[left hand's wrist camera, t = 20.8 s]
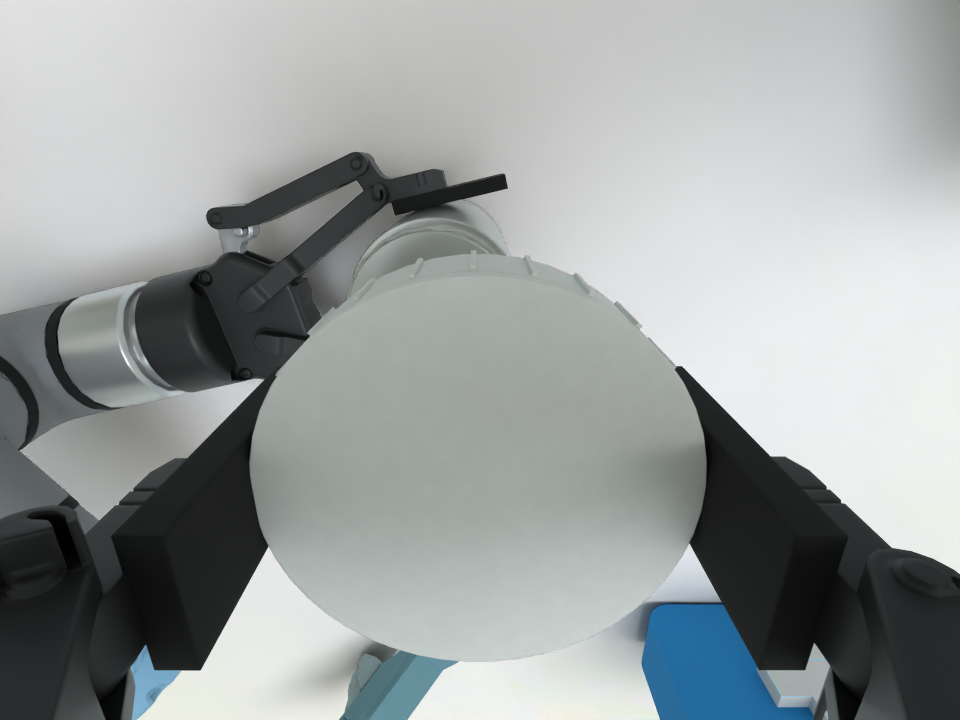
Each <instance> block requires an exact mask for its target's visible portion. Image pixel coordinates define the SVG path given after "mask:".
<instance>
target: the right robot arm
mask: <svg viewBox="0 0 960 720" xmlns="http://www.w3.org/2000/svg"><path fill="white" fill-rule="evenodd" d="M356 180H357V181H358V183H359V184H360V185H361V187H362V188H363V190H364V191H363V192H362V193H361V194H360V195H358V196H357V197H356V198H355V199H354V200H353V201H351V202H350V203H349V204H348V205H347V206H346V207H344V208H343V209H342V210H341V211H340V212H339V213H337V214H336V215H335V216H334V217H333V218H332V219H330V220H329V221H328V222H327V223H326V224H325V225H323V226H322V227H321V228H320V229H319V230H318V231H316V232H315V233H314V234H313V235H312V236H311V237H309V238H308V239H307V240H306V241H305V242H304V243H302V244H301V245H300V246H299V247H298V248H297V249H295V250H294V251H293V252H292V253H291V254H289V255H288V256H287V257H285V258H284V259H283V260H281V261H280V262H279V263H278V262H275V261H273V260H270V259H268V258H265V257H263V256H260V255H258V254H255V253H253V252H250V251H247V250H246V245H247V243H248V241H249V240H250V239H253V238H256V237H257V236H258V234H259V232H260V228H259V224H261V223H265V222H268V221H272V220H274V219H277V218H279V217H281V216H283V215H285V214H287V213H289V212H291V211H293V210H296V209H298V208H300V207H302V206H304V205H306V204H308V203H310V202H312V201H314V200H316V199H318V198H320V197H323V196H325V195H327V194H329V193H331V192H333V191H335V190H337V189H339V188H341V187H343V186H345V185H347V184H350V183H352V182H354V181H356ZM503 189H508V187H507V182H506V177H505V174H503V173H502V174H498V175H494V176H490V177H486V178H482V179H478V180H474V181H469V182H465V183H461V184H457V185H453V186H449V187H447V183H446V179H445V175H444V171H443V170H438V169H431V170H427V171H423V172H419V173H415V174H411V175H407V176H403V177H399V178H394V179H392V178H388V177H386V176H385V175H383V173H382V172H381V171H380V169H379V168H378V166H377V165H376V163H375V161H374V158H373V157H372V156H371V155H370V154H368V153H361V152H353V153H350V154H348V155H346V156H344V157H342V158H340V159H338V160H336V161H334V162H332V163H330V164H328V165H326V166H324V167H322V168H320V169H318V170H316V171H313V172H311V173H309V174H307V175H305V176H303V177H301V178H299V179H297V180H295V181H293V182H291V183H289V184H287V185H285V186H283V187H281V188H279V189H277V190H275V191H273V192H271V193H269V194H267V195H265V196H263V197H261V198H259V199H256V200H254V201H252V202H250V203H248V204H233V205H227V206H222V207H216V208H212V209H210V210H209V211H208V212H207V215H206V218H207V222H208V224H209V225H210V226H211V227H213V228H215V229H218V231H219V235H220V239H221V243H222V247H223V251H224V254H223V255H222V256H220V257H219V259H218V260H217V261H216V262H215V263H213V264H212V265H208V266H204V267H199V268H195V269H191V270H187V271H183V272H179V273H175V274H170V275H166V276H162V277H158V278H155V279H153V280H151V281H149V282H145V281H141V282H137V283H133V284H129V285H125V286H120V287H116V288H112V289H108V290H104V291H99V292H95V293H91V294H87V295H83V296H80V297H77V298H73V299H70V300H68V301H64V302H59V303H54V304H50V305H45V306H40V307H36V308H31V309H26V310H22V311H17V312H12V313H8V314H4V315H0V519H2V518H4V517H6V516H8V515H11V514H14V513H18V512H21V511H24V510H27V509H31V508H36V507H43V506H50V505H57V506H68V507H69V508H71V509H73V510H74V511H76V512H77V515H78V518H79V521H80V523H81V526H82V529H83V532H84V535H85V534H86V533H87V532H88V531H89V530H90V529H91V528H92V527H93V526H94V525H96V524H97V523H98V522H99V520H97V519H96V518H95V517H94V516H93V515H91V514H90V513H89V512H88V511H86V510H85V509H84V508H83V507H81V506H80V505H79V503H78V502H77V501H76V500H75V499H74V498H73V497H72V496H70V495H69V493H68V492H66V491H65V490H64V489H63V488H62V487H61V486H59V485H58V484H57V483H56V482H55V481H54V480H52V479H51V478H50V477H49V476H48V475H47V474H46V473H44V472H43V471H42V470H41V469H40V468H39V467H37V466H36V465H35V464H34V463H33V462H32V461H30V460H29V459H28V458H27V457H26V456H25V455H24V454H22V453H21V452H20V450H21V449H23V448H24V447H25V446H26V445H28V444H29V443H30V442H32V441H33V440H35V439H36V438H38V437H39V436H41V435H42V434H44V433H46V432H47V431H49V430H50V429H52V428H54V427H55V426H57V425H59V424H61V423H64V422H66V421H69V420H72V419H75V418H79V417H83V416H88V415H92V414H96V413H101V412H105V411H109V410H114V409H119V408H123V407H127V406H132V405H137V404H142V403H146V402H151V401H156V400H161V399H165V398H170V397H175V396H179V395H182V394H184V393H186V392H197V391H201V390H206V389H210V388H215V387H220V386H224V385H229V384H233V383H238V382H242V381H246V380H250V379H264V380H265V379H266V378H267V377H268V376H269V375H270V374H271V373H272V372H273V371H274V370H275V369H276V368H277V367H278V366H283V365H284V364H285V363H286V362H287V361H288V360H289V359H290V358H291V357H292V355H293V354H294V353H295V352H296V351H297V350H298V349H299V348H300V347H301V346H302V345H303V343H304V342H305V341H306V340H307V339H308V338H309V337H310V335H309V334H308V333H307V332H308V331H309V330H310V329H311V328H312V327H313V326H314V325H315V324H316V323H317V322H318V321H319V320H320V319H321V316H320V313H319V311H318V310H317V308H316V307H315V305H314V304H313V302H312V294H311V288H310V285H309V282H308V279H307V278H305V279H304V278H303V277H302V275H303V274H304V273H306V272H307V271H308V270H309V269H310V268H312V267H313V266H314V265H315V264H316V263H317V262H318V261H319V260H321V259H322V258H323V257H324V256H325V255H327V254H328V253H329V252H330V251H331V250H333V249H334V248H335V247H336V246H337V245H338V244H340V243H341V242H342V241H343V240H344V239H346V238H347V237H348V236H349V235H350V234H352V233H353V232H354V231H355V230H356V229H358V228H359V227H360V226H361V225H362V224H363V223H365V222H366V221H367V220H368V219H369V218H371V217H372V216H373V215H374V214H375V213H377V212H378V211H379V210H380V209H381V208H383V207H384V206H385V205H386V204H387V203H391V202H392V206H393V210H394V213H395V215H399V214H403V213H408V212H412V211H416V210H420V209H424V208H428V207H433V206H437V205H441V204H445V203H449V202H453V201H458V200H462V199H466V198H470V197H474V196H478V195H483V194H487V193H491V192H495V191H499V190H503ZM131 670H132V673H133V676H134V681H135V687H136V689H135V697H134V706H133V714H132V720H136V719H138V718H139V717H140V716H141V715H142V714H143V713H145V711H146V710H147V709H148V708H149V707H150V706H151V705H152V704H153V703H154V702H155V701H156V699H157V697H158V696H159V694H160V693H161V692H162V691H163V690H164V689H165V688H166V687H167V686H168V685H169V684H171V683H172V682H173V681H174V679H175V678H176V677H177V675H178V674H179V673H180V671H181V670H154V668H153V665H152V662H151V659H150V656H149V652H148V649H147V646H146V645H145V647H144V648H143V650H142V651H141V653H140V654H139V656H138V657H137V658H136V660H135V661H134V663H133V664H132V666H131Z"/></svg>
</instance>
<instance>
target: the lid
mask: <svg viewBox="0 0 960 720" xmlns="http://www.w3.org/2000/svg"><path fill="white" fill-rule="evenodd" d="M641 327H642V325H641V324H640V323H639V322H638V321H637V320H636V319H635V318H634V317H633V316H632V315H631V314H630V313H629V312H628V311H627V310H626V309H625V308H624V307H623V306H622V305H621V304H620V303H619V302H618V301H617V302H616V303H615V304H614V303H613V302H612V301H610V300H609V299H608V298H606V297H605V296H604V295H603V294H601V293H600V292H599V291H598V290H596V289H595V288H593V287H591V286H590V285H588V284H587V283H586V282H585V281H584V280H583V279H582V278H581V277H580V275H578V274H576V273H575V274H574V275H570V274H568V273H565V272H563V271H561V270H558V269H556V268H553V267H551V266H549V265H546V264H542V263H538V262H534V261H532V260H531V258H530V256H526V255H525V257H524V259H523V258H519V257H511V256H503V255H495V254H476V250H471V254H461V255H453V256H446V257H439V258H433V259H429V260H426V261H424V260H423V258H419V259H417V261H416V263H415V264H411V265H408V266H405V267H403V268H401V269H398V270H396V271H394V272H391V273H389V274H387V275H384V276H382V277H380V278H379V279H377V280H375V278H374V277H373V278H371V279H369V281H368V282H367V283H366V284H365V285H364V286H363V287H362V288H361V289H360V290H359V291H357V292H356V293H355V294H354V295H353V296H351V297H350V298H349V299H348V300H346V301H345V302H344V303H343V304H342V305H340V306H339V307H338V308H337V309H335V308H334V307H332V308H331V309H330V310H329V311H328V312H327V313H326V314H325V315H324V316H323V317H322V318H321V319H320V320H319V321H318V322H317V323H316V324H315V325H314V326H313V327H312V328H311V329H310V330H309V331H308V332H307V333H308V334H309V335H310V337H309V338H308V339H307V340H306V341H305V342H304V343H303V345H302V346H301V347H300V348H299V349H298V350H297V351H296V352H295V353H294V354H293V355H292V357H291V358H290V359H289V360H288V361H287V362H286V363H285V364H284V365H283V366H282V367H281V368H280V369H279V370H278V372H277V373H276V375H275V376H277V377H276V379H275V380H274V382H273V383H272V385H271V387H270V389H269V391H268V393H267V395H266V398H265V400H264V402H263V404H262V406H261V408H260V411H259V414H258V418H257V421H256V425H255V428H254V432H253V436H252V443H251V452H250V461H249V467H250V478H251V484H252V489H253V494H254V500H255V505H256V510H257V515H258V520H259V524H260V528H261V530H262V533H263V536H264V538H265V540H266V542H267V544H268V546H269V547H270V549H271V551H272V553H273V555H274V557H275V559H276V560H277V561H278V563H279V564H280V566H281V567H282V568H283V570H284V571H285V573H286V574H287V575H288V577H289V578H290V579H291V580H292V582H293V583H294V584H295V585H296V586H297V587H298V588H299V589H300V590H301V591H302V592H303V593H304V594H305V596H306V597H308V598H309V599H310V600H311V601H312V602H313V603H315V604H316V605H317V606H318V607H319V608H320V609H322V610H323V611H324V612H325V613H327V614H328V615H330V616H331V617H333V618H334V619H336V620H337V621H339V622H340V623H341V624H343V625H344V626H346V627H348V628H350V629H352V630H353V631H355V632H357V633H359V634H361V635H363V636H365V637H367V638H369V639H371V640H374V641H376V642H379V643H381V644H384V645H386V646H389V647H391V648H394V649H398V650H401V651H405V652H408V653H412V654H415V655H420V656H425V657H431V658H436V659H442V660H453V661H464V662H493V661H503V660H513V659H521V658H526V657H531V656H536V655H541V654H545V653H548V652H552V651H555V650H558V649H562V648H565V647H568V646H570V645H573V644H575V643H578V642H580V641H582V640H585V639H587V638H590V637H592V636H593V635H595V634H597V633H599V632H601V631H603V630H605V629H606V628H608V627H610V626H612V625H614V624H615V623H616V622H618V621H619V620H621V619H622V618H624V617H625V616H627V615H628V614H630V613H631V612H632V611H634V610H635V609H636V608H637V607H638V606H639V605H641V604H642V603H643V602H644V601H645V600H646V599H647V598H649V597H650V596H651V595H652V594H653V593H654V592H655V591H656V589H657V588H658V587H659V586H660V585H661V584H662V583H663V582H664V581H665V580H666V578H667V577H668V576H669V575H670V573H671V572H672V570H673V569H674V567H675V566H676V565H677V563H678V562H679V560H680V559H681V557H682V556H683V554H684V552H685V550H686V548H687V546H688V544H689V542H690V540H691V538H692V536H693V534H694V532H695V529H696V526H697V523H698V520H699V517H700V514H701V511H702V506H703V501H704V495H705V490H706V474H707V457H706V449H705V441H704V434H703V430H702V427H701V424H700V420H699V417H698V414H697V410H696V407H695V405H694V403H693V401H692V399H691V397H690V395H689V393H688V391H687V389H686V387H685V384H684V383H683V381H682V380H681V378H680V377H679V375H678V374H677V372H676V371H675V369H676V366H675V364H674V363H673V362H672V361H671V360H670V359H669V358H668V357H667V356H666V355H665V354H664V353H663V352H662V351H661V350H660V349H659V348H658V347H657V345H656V344H655V343H654V342H653V341H652V340H651V339H650V338H649V337H648V338H647V337H646V336H645V335H644V334H643V333H642V332H641V331H640V330H639V329H640V328H641Z"/></svg>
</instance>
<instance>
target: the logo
mask: <svg viewBox="0 0 960 720" xmlns="http://www.w3.org/2000/svg"><path fill="white" fill-rule="evenodd" d="M642 667H643V671H644V674H645V677H646V679H647V682H648V685H649V688H650V691H651V694H652V697H653V700H654V703H655V706H656V709H657V712H658V715H659V717H660V720H813V718H814V712H815V708H816V705H817V702H818V699H819V696H820V693H821V690H822V688H823V685H824V682H825V679H826V676H827V673H828V670H829V667H830V665H829V663H828V662H827V660H826V659H825V658H824V656H823V655H822V653H821V652H820V650H819V649H818V648H817V646H816V645H815V643H814V645H813V648H812V651H811V654H810V657H809V660H808V664H807V667H806V670H759V669H758V667H757V666H756V664H755V662H754V660H753V658H752V656H751V655H750V653H749V651H748V649H747V647H746V645H745V644H744V642H743V640H742V638H741V636H740V635H739V633H738V631H737V629H736V627H735V625H734V624H733V622H732V620H731V618H730V616H729V614H728V613H727V611H726V609H725V607H724V605H707V604H668V605H661V606H658V607H656V608H655V609H654V610H653V611H652V613H651V615H650V620H649V625H648V631H647V636H646V641H645V646H644V652H643V657H642ZM823 720H828V712H827V711H825V714H824V717H823Z"/></svg>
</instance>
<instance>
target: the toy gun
mask: <svg viewBox="0 0 960 720" xmlns="http://www.w3.org/2000/svg"><path fill="white" fill-rule="evenodd" d="M456 663H458V661H453V660H442V659H436V658H431V657H425V656H420V655H415V654H412V653H408V652H405V651H401V650H398V649H397V650H396V652H395V653H394V654H393V656H392V657H390V658H389V659H387V660H386V661H384V662H383V663H382V662H381V661H380V660H379V659H378V658H377V657H375V656H372V655H369V654H366V653H364V654H363V656H362V657H361V658H360V659H359V669H358V670H357V671H356V672H355V673H354V674H353V677H352V679H351V682H350V684H349V689H348V701H347V705H346V708H345V713H344V714H343V716H342V717H341V718H340V719H339V720H407V719H408V718H409V717H410V715H411V714H412V712H413V711H414V710H415V708H416V707H417V705H418V704H419V703H420V701H421V700H422V699H423V697H424V696H425V694H426V693H427V692H428V690H429V689H430V687H431V686H432V685H433V683H434V682H435V680H436V679H437V678H438V676H439V675H440V673H441V672H442V671H443V670H444V669H446V668H448V667H450V666H452V665H454V664H456Z"/></svg>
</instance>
